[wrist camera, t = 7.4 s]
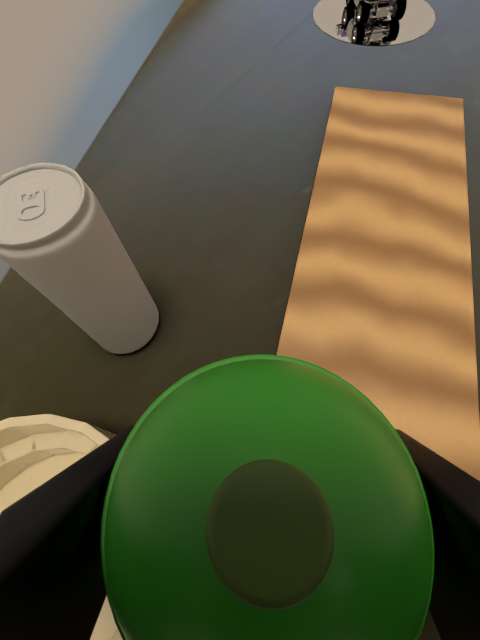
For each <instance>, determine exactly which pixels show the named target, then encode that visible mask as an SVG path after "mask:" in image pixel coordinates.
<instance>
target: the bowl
mask: <svg viewBox="0 0 480 640" xmlns="http://www.w3.org/2000/svg"><path fill="white" fill-rule="evenodd" d="M115 435H117V434H114V433H112V432H109V431H106V430H104V429H101V428H99V427H96V426H93V425H91V424H88V423H86V422H81V421H77V420H73V419H69V418H65V417H61V416H57V415H53V414H41V415H31V416H21V417H11V418H7V419H5V420H2V421H0V514H1V512H2V511H3V510H4V509H6V508H7V507H9V506H10V505H12V504H13V503H15V502H16V501H18V500H19V499H21V498H22V497H24V496H25V495H27V494H28V493H30V492H31V491H33V490H34V489H36V488H37V487H39V486H40V485H42V484H43V483H45V482H46V481H48V480H49V479H51V478H52V477H54V476H55V475H57V474H58V473H60V472H61V471H63V470H64V469H66V468H67V467H69V466H70V465H72V464H73V463H75V462H76V461H78V460H79V459H81V458H82V457H84V456H85V455H87V454H88V453H90V452H91V451H93V450H94V449H96V448H97V447H99V446H100V445H102V444H103V443H105V442H106V441H108V440H109V439H111V438H112V437H114V436H115ZM90 640H123V639H122V637H121V635H120V632H119V630H118V628H117V626H116V624H115V621H114V618H113V614H112V611H111V608H110V605H109V601H108V598H107V596H106V598H105V601H104V604H103V606H102V609H101V612H100V614H99V617H98V619H97V622H96V625H95V627H94V630H93V633H92V635H91V638H90Z"/></svg>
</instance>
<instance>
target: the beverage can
mask: <svg viewBox="0 0 480 640" xmlns="http://www.w3.org/2000/svg"><path fill="white" fill-rule="evenodd" d="M0 257H1V258H2V259H3V260H4V261H5V262H6V263H7V264H8V265H9V266H11V267H12V268H13V269H14V270H15V271H16V272H17V273H19V274H20V275H21V276H22V277H23V278H24V279H25V280H27V281H28V282H29V283H30V284H31V285H32V286H34V287H35V288H36V289H37V290H38V291H39V292H41V293H42V294H43V295H44V296H45V297H46V298H48V299H49V300H50V301H51V302H52V303H53V304H55V305H56V306H57V307H58V308H59V309H60V310H61V311H63V312H64V313H65V314H66V315H67V316H68V317H69V318H70V319H72V320H73V321H74V322H75V323H76V324H77V325H78V326H79V327H80V328H81V329H83V330H84V331H85V332H86V333H87V334H88V335H89V336H90V337H91V338H92V339H94V340H95V341H96V342H97V343H98V344H99V345H100V346H101V347H103V348H104V349H105V350H107V351H109V352H111V353H116V354H125V353H131V352H133V351H136V350H138V349H140V348H141V347H143V346H144V345H146V344H147V343H148V341H149V340H150V339H151V338H152V336H153V335H154V333H155V331H156V329H157V325H158V322H159V312H158V309H157V306H156V305H155V303H154V301H153V299H152V297H151V296H150V294H149V292H148V290H147V288H146V287H145V285H144V283H143V281H142V279H141V277H140V276H139V274H138V272H137V270H136V268H135V267H134V265H133V263H132V261H131V259H130V258H129V256H128V254H127V252H126V250H125V249H124V247H123V245H122V243H121V241H120V240H119V238H118V236H117V234H116V232H115V231H114V229H113V227H112V225H111V223H110V222H109V220H108V218H107V216H106V214H105V213H104V211H103V209H102V207H101V205H100V204H99V202H98V200H97V198H96V196H95V195H94V193H93V192H92V190H91V189H90V188H89V187H88V185H87V184H86V183H85V182H83V180H82V178H81V177H80V176H79V175H78V174H77V172H76V171H74V170H72V169H70V168H69V167H67V166H64V165H60V164H56V163H37V164H30V165H26V166H23V167H20V168H17V169H14V170H13V171H10V172H8V173H6V174H4V175H3V176H1V177H0Z"/></svg>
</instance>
